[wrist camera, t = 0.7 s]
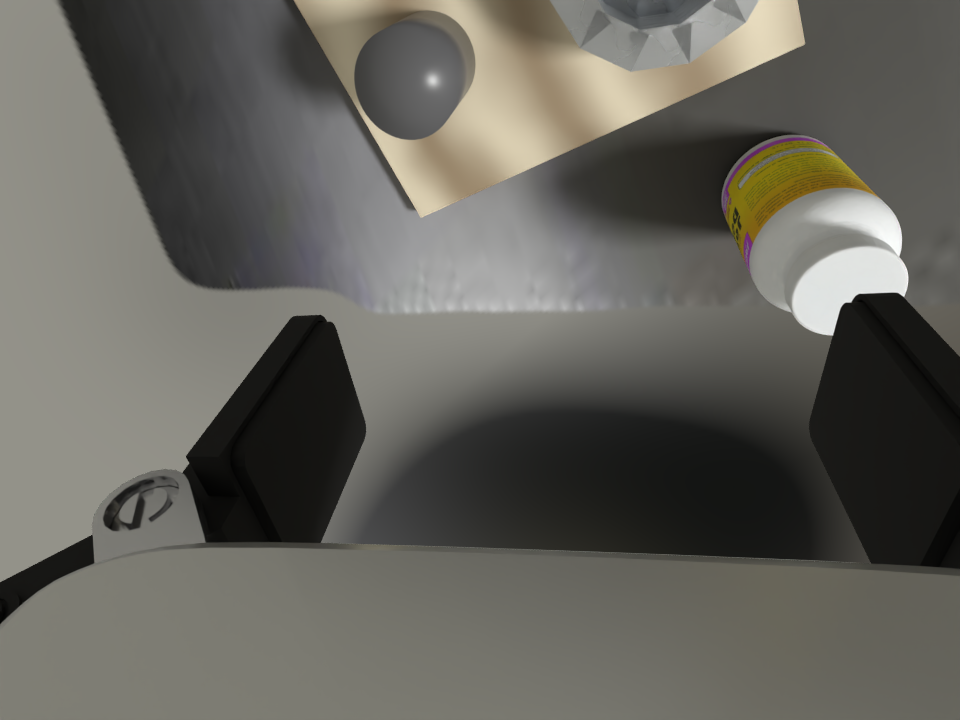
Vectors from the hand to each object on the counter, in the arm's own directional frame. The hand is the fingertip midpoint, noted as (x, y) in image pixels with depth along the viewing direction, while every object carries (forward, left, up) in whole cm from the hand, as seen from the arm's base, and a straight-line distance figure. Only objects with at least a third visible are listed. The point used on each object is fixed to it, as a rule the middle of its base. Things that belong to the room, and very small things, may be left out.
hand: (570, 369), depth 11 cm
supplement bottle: (+2, +14, -29) cm, 32 cm away
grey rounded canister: (+3, -8, -27) cm, 29 cm away
